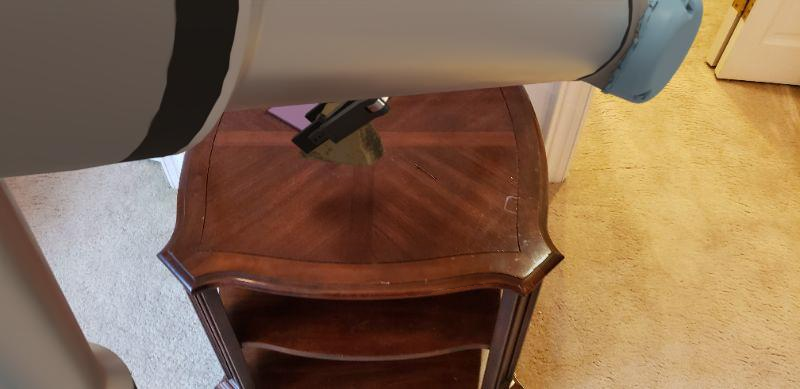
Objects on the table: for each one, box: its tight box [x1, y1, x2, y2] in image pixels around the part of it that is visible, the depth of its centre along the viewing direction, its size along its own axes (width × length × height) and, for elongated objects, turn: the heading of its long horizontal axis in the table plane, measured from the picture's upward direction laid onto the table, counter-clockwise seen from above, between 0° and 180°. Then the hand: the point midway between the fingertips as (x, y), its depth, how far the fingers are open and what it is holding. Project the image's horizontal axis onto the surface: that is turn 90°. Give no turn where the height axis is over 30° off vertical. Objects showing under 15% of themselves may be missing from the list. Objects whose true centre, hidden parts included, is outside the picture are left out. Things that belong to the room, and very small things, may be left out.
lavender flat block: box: [267, 103, 319, 132], centre depth 98 cm, size 18×13×1 cm
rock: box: [298, 101, 387, 167], centre depth 73 cm, size 11×9×10 cm
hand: (306, 133), depth 72 cm, fingers closed on rock, 4 cm apart
